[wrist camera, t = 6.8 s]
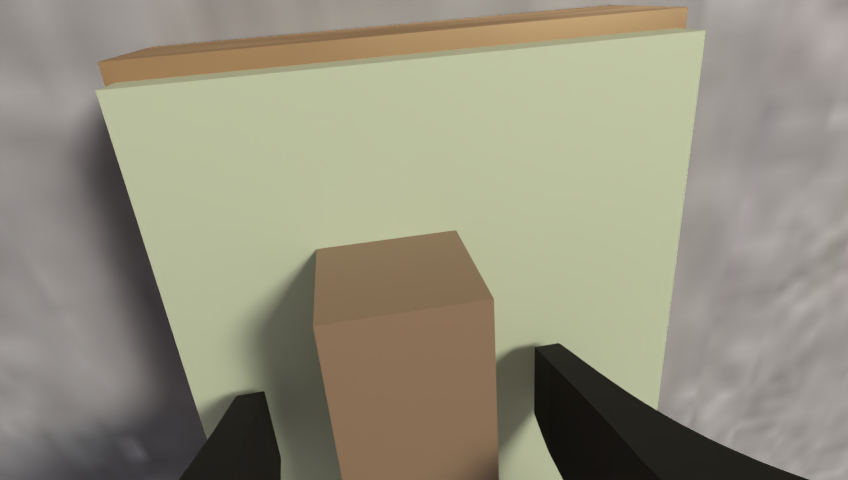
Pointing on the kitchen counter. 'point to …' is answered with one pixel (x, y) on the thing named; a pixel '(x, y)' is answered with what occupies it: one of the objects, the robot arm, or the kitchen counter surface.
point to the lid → (415, 240)
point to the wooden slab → (386, 41)
